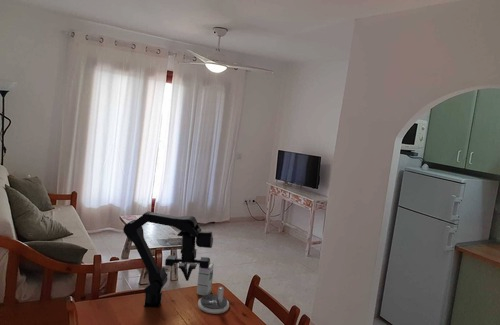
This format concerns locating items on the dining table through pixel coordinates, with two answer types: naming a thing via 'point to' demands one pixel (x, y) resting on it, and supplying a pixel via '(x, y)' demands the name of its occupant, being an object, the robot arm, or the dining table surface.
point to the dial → (214, 300)
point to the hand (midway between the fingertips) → (187, 280)
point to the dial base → (212, 311)
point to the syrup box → (205, 280)
